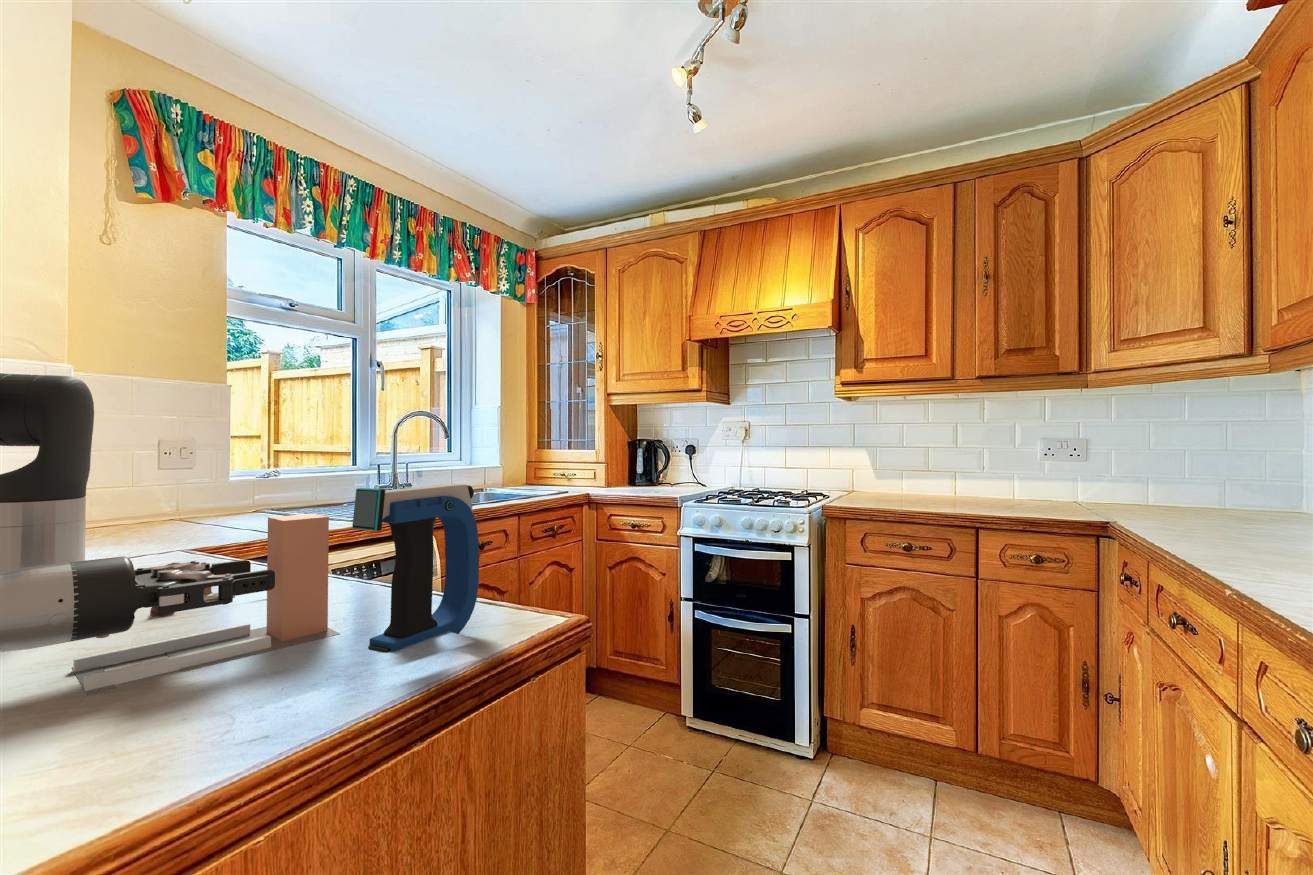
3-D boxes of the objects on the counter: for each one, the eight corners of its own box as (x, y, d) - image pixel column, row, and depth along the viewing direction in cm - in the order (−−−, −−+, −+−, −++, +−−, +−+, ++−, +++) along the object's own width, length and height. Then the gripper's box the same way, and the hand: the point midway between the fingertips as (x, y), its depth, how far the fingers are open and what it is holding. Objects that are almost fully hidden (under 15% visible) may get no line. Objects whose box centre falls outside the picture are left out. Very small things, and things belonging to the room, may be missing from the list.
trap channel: (71, 682, 59) (71, 655, 59) (307, 629, 76) (307, 608, 76) (86, 710, 53) (87, 681, 53) (340, 646, 70) (340, 623, 70)
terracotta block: (266, 632, 70) (267, 517, 70) (311, 622, 74) (312, 513, 74) (281, 641, 67) (282, 520, 67) (327, 630, 71) (328, 516, 71)
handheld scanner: (345, 665, 64) (349, 487, 64) (454, 624, 78) (457, 480, 78) (374, 673, 62) (378, 490, 62) (480, 630, 76) (483, 481, 76)
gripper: (74, 573, 51) (283, 548, 63) (56, 554, 60) (242, 535, 72) (73, 659, 51) (283, 616, 63) (55, 626, 60) (241, 595, 72)
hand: (261, 573), depth 68 cm, fingers open, 8 cm apart
